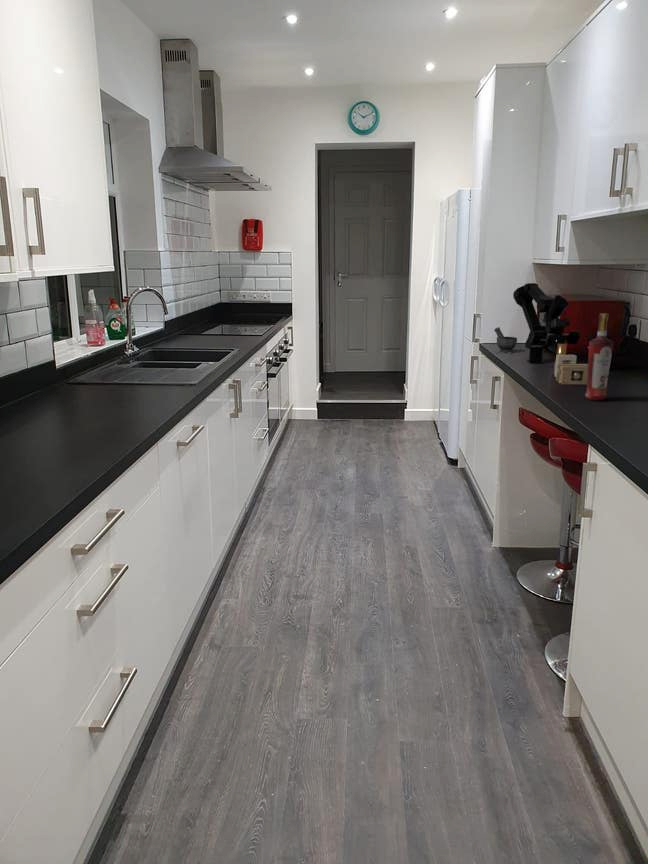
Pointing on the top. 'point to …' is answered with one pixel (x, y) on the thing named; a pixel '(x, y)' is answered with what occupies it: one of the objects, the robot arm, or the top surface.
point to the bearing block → (566, 371)
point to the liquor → (599, 362)
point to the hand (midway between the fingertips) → (558, 354)
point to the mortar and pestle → (505, 341)
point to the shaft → (562, 351)
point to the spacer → (564, 357)
